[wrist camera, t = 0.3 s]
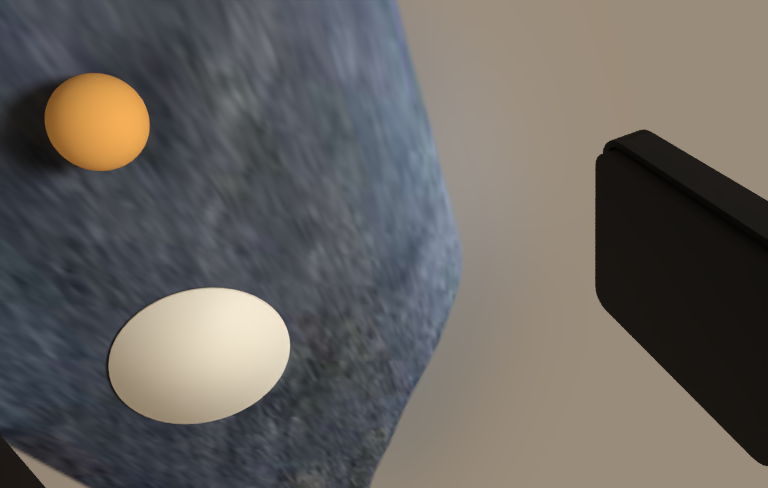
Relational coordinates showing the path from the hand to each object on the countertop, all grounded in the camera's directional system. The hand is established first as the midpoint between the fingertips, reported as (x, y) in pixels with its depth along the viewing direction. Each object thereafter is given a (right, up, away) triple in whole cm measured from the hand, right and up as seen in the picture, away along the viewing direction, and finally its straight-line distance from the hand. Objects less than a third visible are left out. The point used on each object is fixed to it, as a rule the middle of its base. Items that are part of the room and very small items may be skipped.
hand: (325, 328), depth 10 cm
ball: (-15, +8, +28) cm, 33 cm away
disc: (-14, -8, +43) cm, 46 cm away
